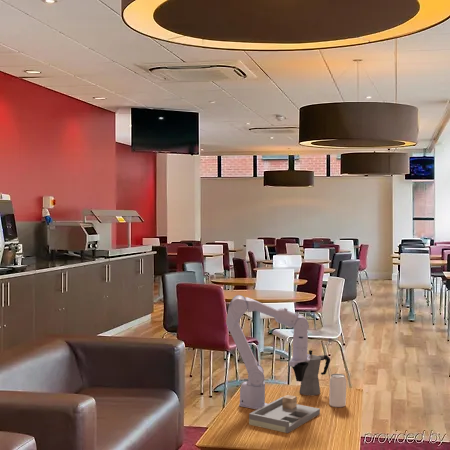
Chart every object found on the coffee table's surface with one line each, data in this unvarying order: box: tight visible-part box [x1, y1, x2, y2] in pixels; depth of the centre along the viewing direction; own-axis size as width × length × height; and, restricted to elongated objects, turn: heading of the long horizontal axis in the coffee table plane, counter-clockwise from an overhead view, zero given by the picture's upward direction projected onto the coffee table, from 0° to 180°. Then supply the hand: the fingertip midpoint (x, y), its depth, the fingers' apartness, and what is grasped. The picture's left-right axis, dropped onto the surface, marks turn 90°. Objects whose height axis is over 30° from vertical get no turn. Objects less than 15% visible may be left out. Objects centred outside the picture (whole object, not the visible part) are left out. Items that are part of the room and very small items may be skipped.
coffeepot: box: [299, 349, 331, 397], centre depth 310 cm, size 15×9×18 cm, turn 103°
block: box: [282, 394, 298, 409], centre depth 284 cm, size 4×4×4 cm
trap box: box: [248, 396, 321, 434], centre depth 276 cm, size 16×26×4 cm, turn 147°
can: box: [328, 373, 347, 408], centre depth 294 cm, size 6×6×12 cm
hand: (299, 380), depth 290 cm, fingers closed
